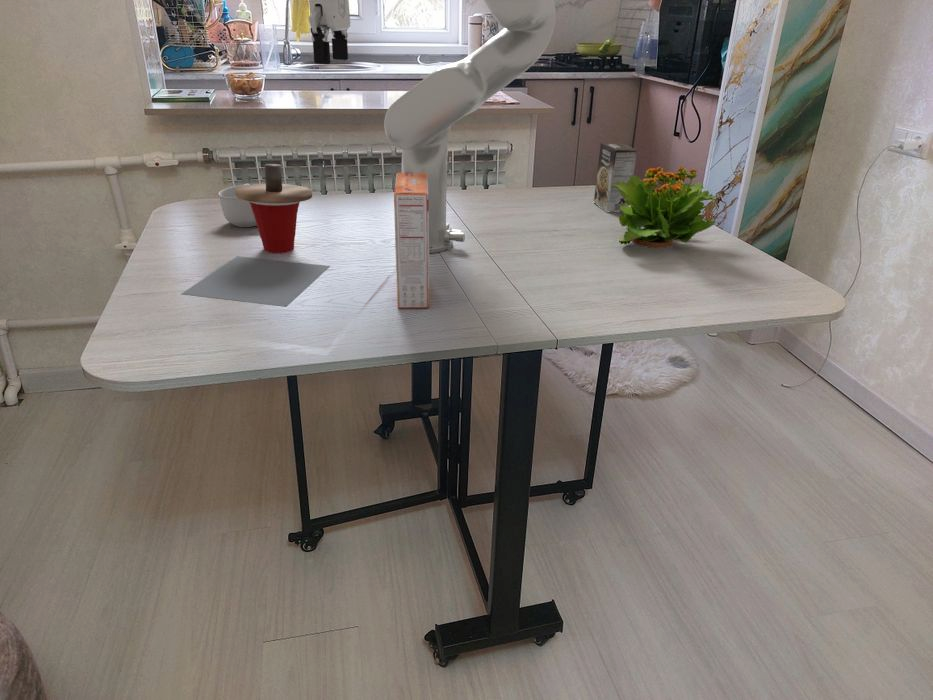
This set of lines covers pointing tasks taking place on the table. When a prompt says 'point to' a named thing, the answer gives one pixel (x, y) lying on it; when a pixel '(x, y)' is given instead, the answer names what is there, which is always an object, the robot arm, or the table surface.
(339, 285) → the table surface
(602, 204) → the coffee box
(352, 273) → the table surface
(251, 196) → the lid
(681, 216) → the potted flower
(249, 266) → the mat
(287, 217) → the plastic cup
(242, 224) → the teacup
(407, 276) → the cracker box
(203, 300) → the table surface
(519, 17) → the robot arm
